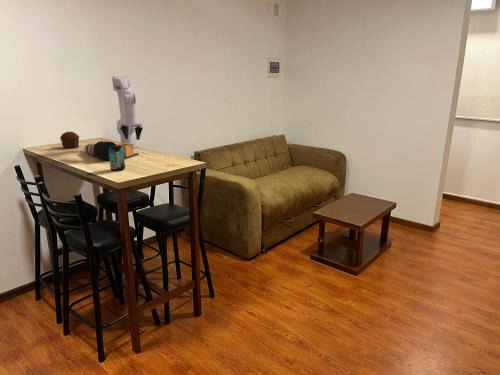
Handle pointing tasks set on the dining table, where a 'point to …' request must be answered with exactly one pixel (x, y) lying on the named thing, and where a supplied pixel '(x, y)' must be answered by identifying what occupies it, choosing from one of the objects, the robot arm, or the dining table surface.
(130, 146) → the orange hollow block
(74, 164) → the dining table surface
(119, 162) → the beverage can
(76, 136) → the muffin
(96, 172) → the dining table surface
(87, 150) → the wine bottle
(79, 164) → the dining table surface
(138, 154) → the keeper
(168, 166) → the dining table surface
